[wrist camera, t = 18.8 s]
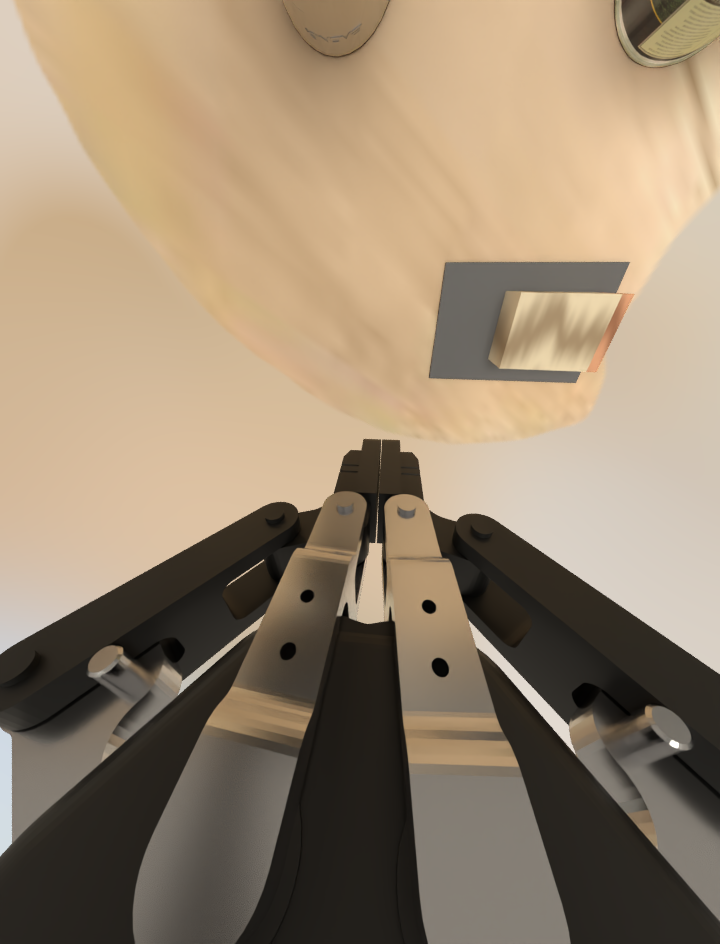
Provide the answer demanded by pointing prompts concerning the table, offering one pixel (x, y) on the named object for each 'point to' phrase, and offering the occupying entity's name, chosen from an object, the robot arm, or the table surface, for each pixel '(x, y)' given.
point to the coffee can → (666, 29)
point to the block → (556, 329)
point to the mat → (479, 304)
